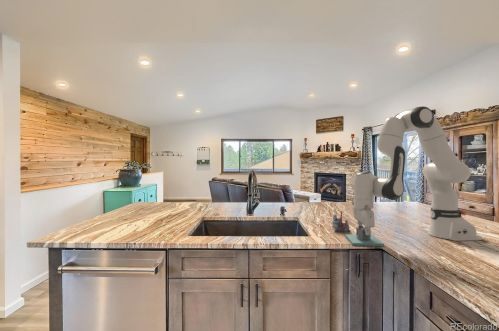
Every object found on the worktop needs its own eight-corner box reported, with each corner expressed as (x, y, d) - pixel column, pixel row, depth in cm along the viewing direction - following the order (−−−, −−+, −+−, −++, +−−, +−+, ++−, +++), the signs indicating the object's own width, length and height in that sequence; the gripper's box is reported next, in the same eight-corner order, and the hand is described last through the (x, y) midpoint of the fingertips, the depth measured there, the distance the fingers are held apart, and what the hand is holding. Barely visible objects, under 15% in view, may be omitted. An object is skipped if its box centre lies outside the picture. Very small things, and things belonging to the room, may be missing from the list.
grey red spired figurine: (354, 229, 141) (340, 211, 144) (337, 239, 145) (323, 222, 147) (353, 224, 152) (340, 207, 154) (337, 234, 155) (325, 217, 158)
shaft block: (373, 237, 134) (372, 225, 134) (383, 246, 120) (383, 233, 120) (345, 236, 136) (345, 225, 136) (352, 245, 122) (352, 232, 122)
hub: (367, 237, 131) (367, 227, 131) (371, 240, 125) (371, 230, 125) (355, 236, 131) (355, 227, 131) (358, 240, 125) (358, 230, 125)
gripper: (378, 208, 117) (378, 238, 117) (363, 201, 137) (363, 226, 138) (363, 207, 118) (364, 238, 118) (351, 201, 138) (351, 226, 138)
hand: (363, 232), depth 128 cm, fingers open, 8 cm apart
